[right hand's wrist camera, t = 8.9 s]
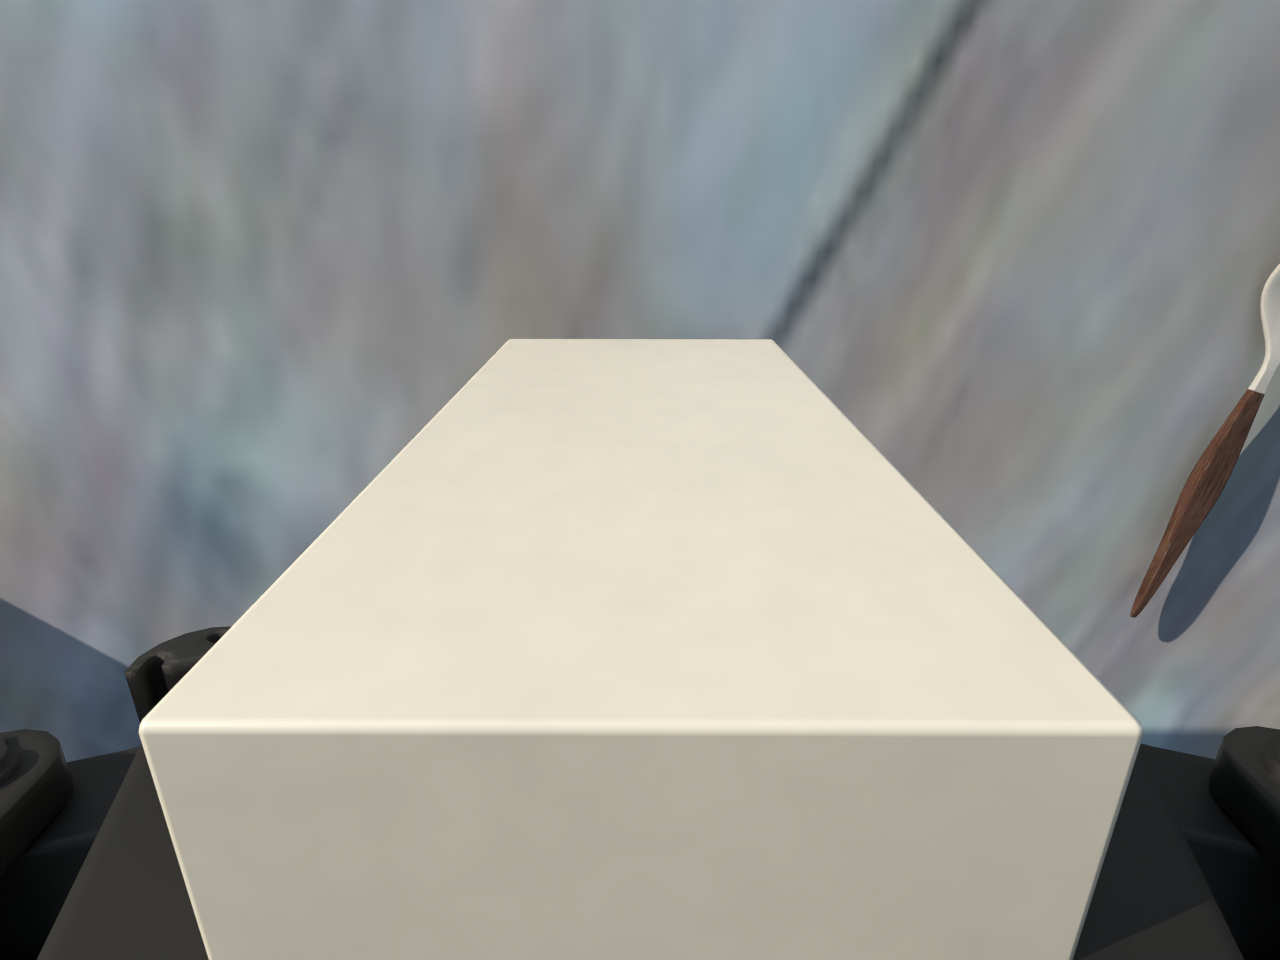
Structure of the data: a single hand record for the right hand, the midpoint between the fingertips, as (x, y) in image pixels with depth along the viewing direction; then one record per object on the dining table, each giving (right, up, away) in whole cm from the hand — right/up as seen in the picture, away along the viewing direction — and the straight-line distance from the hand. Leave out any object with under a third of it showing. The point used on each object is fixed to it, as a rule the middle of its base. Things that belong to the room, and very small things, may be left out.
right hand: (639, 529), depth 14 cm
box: (0, -8, +7) cm, 11 cm away
